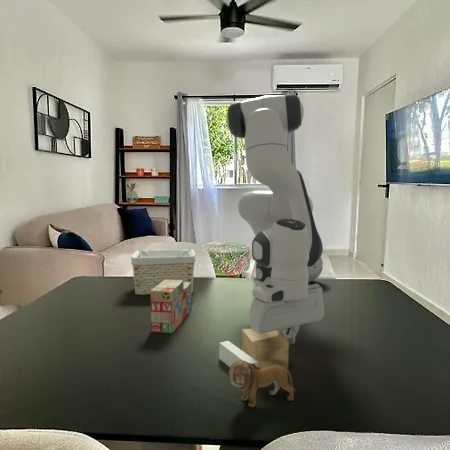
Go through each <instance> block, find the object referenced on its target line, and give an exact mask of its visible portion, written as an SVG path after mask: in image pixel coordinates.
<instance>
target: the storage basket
mask: <svg viewBox="0 0 450 450" xmlns="http://www.w3.org/2000/svg"><path fill="white" fill-rule="evenodd" d="M130 261H131V262H130V264H131V265H132V271H133V277H132V278H133V284H134V291H135V292H134V293H135V295H139V296H145V295H151V290H152V289H153V288H155V287H156V286H157V285H159V284H160V283H161V282H162V281H163V280H183V282H190V283H191V293H192V294H193V293H194V273H195V272H194V271H195V262H196V252H195V250H194V249H193V248H189V249H137V250H135V251H134V252H133V254H132V256H130Z"/></svg>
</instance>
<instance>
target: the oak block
mask: <svg viewBox="0 0 450 450" xmlns="http://www.w3.org/2000/svg"><path fill="white" fill-rule="evenodd" d="M241 336H242V339H241V340H242V341H241V342H242V344H241V347H242V348H241V350H242V351H243V352H245V353H246V354H247V355H249V356H250V357H252V358H253V359H254V360H256V361H257V362H258V368H265V367H269V366H272V365H281V366H284V367H285V368H287V369H288V368H289V349H290V348H289V347H290V344H289V342H288V341H287V340H286V339H285V338H284V337H283V336H282V335H281V334H280V333H279V332H278V330H276V331H272V332H267V333H262V334H259V333H257V332H255V331H254V330H253V329H252V328H243V329H242V335H241Z"/></svg>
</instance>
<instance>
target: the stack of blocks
mask: <svg viewBox="0 0 450 450" xmlns="http://www.w3.org/2000/svg"><path fill="white" fill-rule="evenodd" d="M192 294H193V292H192V293H191V283H190V282H183V280H163V281H162V282H161V283H160V284H159V285H157V286H156V287H155V288H153V289H152V290H151V294H150V328H151V329H150V332H151V333H159V334H160V333H161V334H162V333H164V334H173V333H174V331H175V330H177V329H178V327H179V326H180V325H181V323H182V322H183V321H184V319H185V318H186V317H187V316H188V315H189V313H191V310H192V305H193V304H192V302H193V301H192V296H193V295H192Z"/></svg>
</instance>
